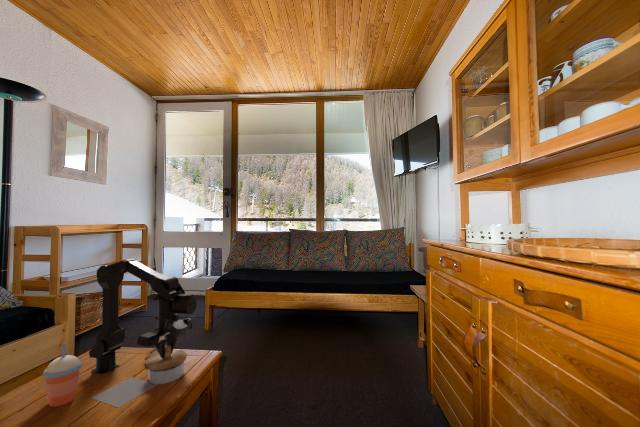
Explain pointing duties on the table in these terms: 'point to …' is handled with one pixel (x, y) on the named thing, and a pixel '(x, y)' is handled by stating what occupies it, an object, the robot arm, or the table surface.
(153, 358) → the lid
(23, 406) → the table surface
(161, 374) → the bowl
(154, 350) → the bread roll
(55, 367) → the cup with straw
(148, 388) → the mat
